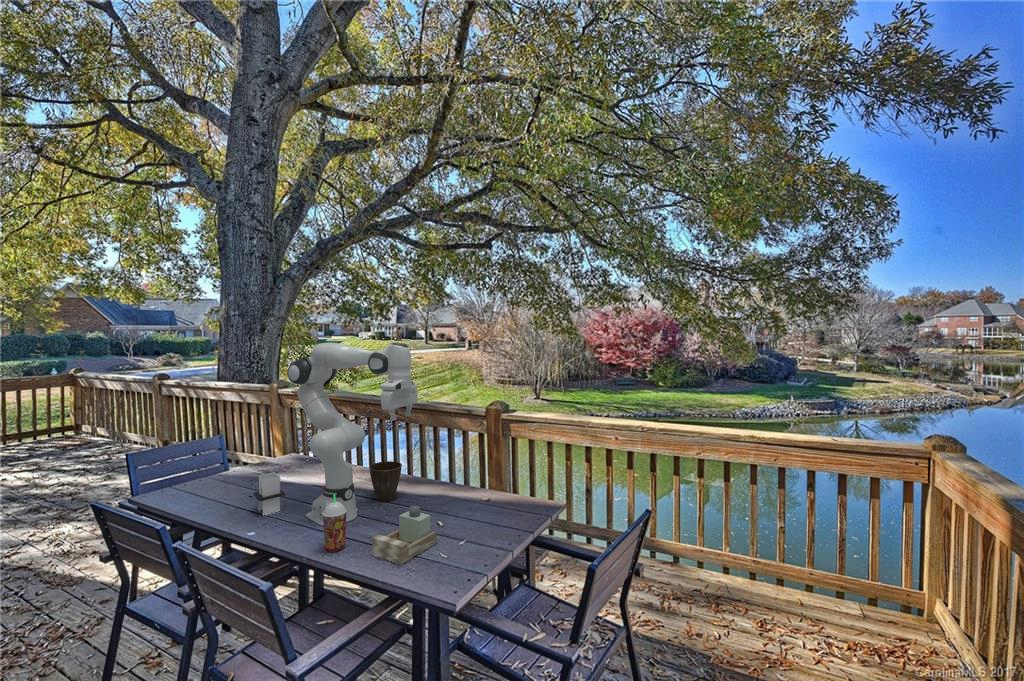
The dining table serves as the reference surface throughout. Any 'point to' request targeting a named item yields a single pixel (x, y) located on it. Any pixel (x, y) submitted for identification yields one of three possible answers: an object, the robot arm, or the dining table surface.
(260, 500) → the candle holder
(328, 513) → the smoothie
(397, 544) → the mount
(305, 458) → the dining table surface
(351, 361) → the robot arm
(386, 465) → the plant pot
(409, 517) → the slider
